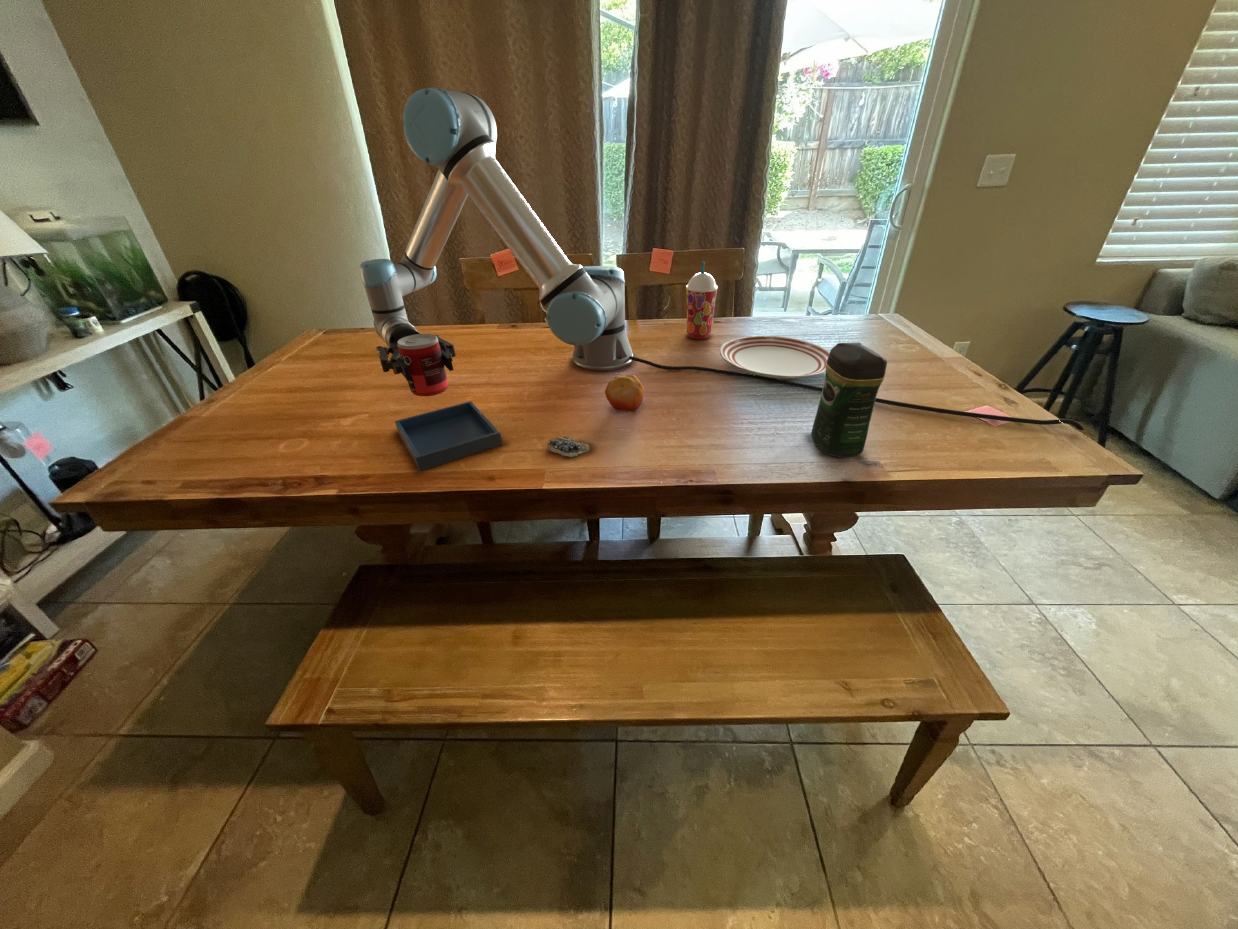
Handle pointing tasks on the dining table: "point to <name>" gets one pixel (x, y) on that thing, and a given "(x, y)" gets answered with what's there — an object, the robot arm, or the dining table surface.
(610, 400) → the fruit
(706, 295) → the smoothie
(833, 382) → the coffee jar
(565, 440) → the grey mineral rock
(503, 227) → the robot arm
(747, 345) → the dinner plate
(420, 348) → the canned food
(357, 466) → the dining table surface
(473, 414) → the tray
